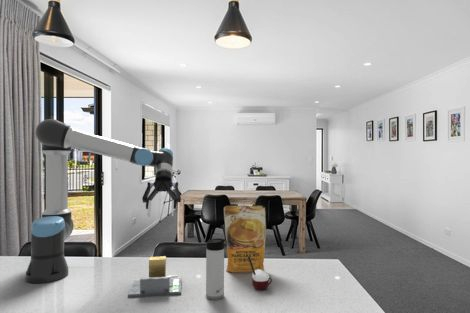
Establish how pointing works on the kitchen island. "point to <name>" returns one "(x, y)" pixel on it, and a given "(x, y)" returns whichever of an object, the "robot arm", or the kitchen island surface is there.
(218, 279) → the travel mug
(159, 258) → the brushed brass block
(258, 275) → the cocoa
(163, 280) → the gauge bed
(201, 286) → the kitchen island surface
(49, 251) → the robot arm
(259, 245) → the pancake mix bag
